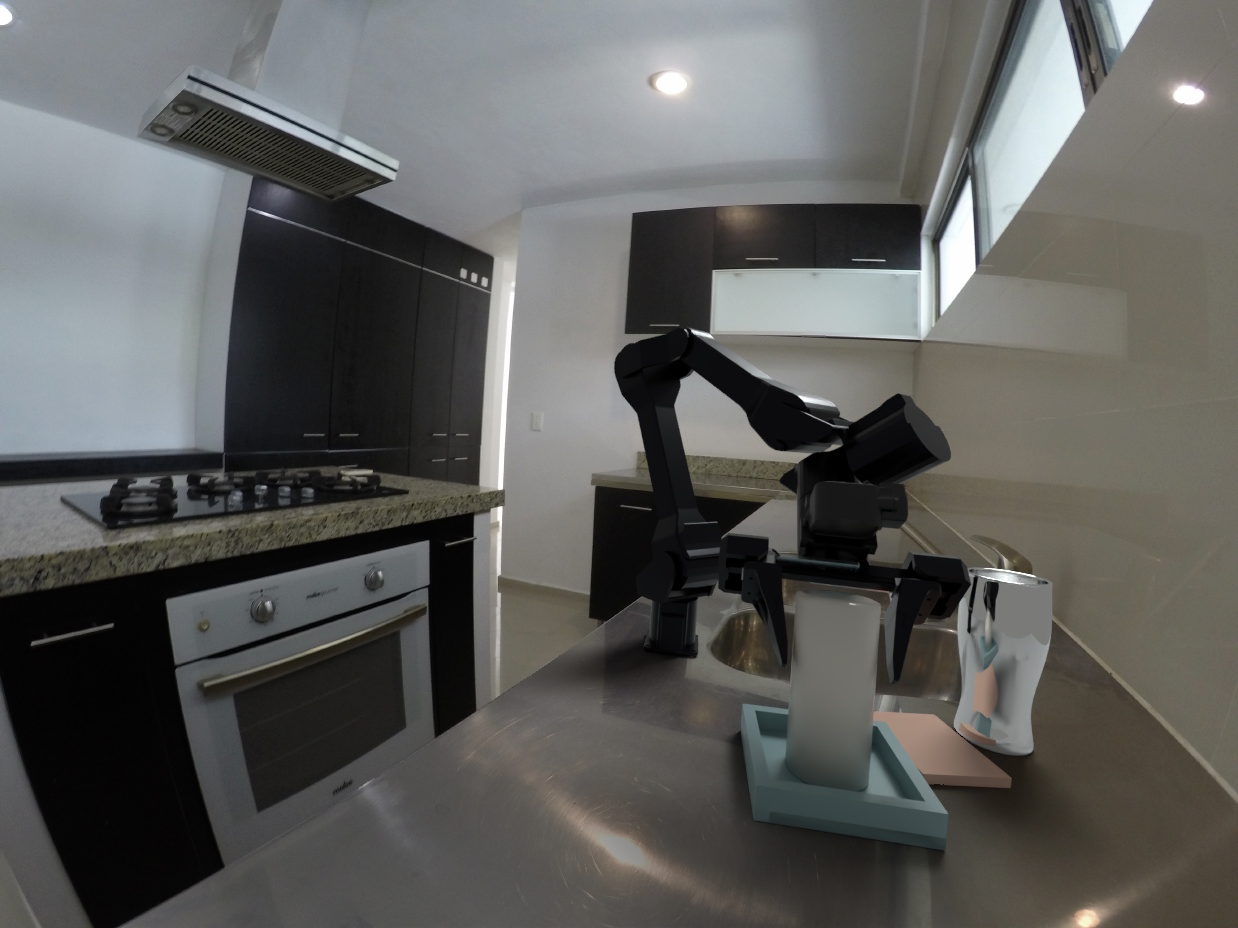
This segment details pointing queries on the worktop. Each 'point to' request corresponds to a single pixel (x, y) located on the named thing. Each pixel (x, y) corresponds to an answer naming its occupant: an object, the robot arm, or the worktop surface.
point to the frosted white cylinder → (832, 688)
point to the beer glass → (1002, 657)
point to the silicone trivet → (942, 752)
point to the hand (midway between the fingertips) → (838, 673)
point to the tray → (879, 811)
